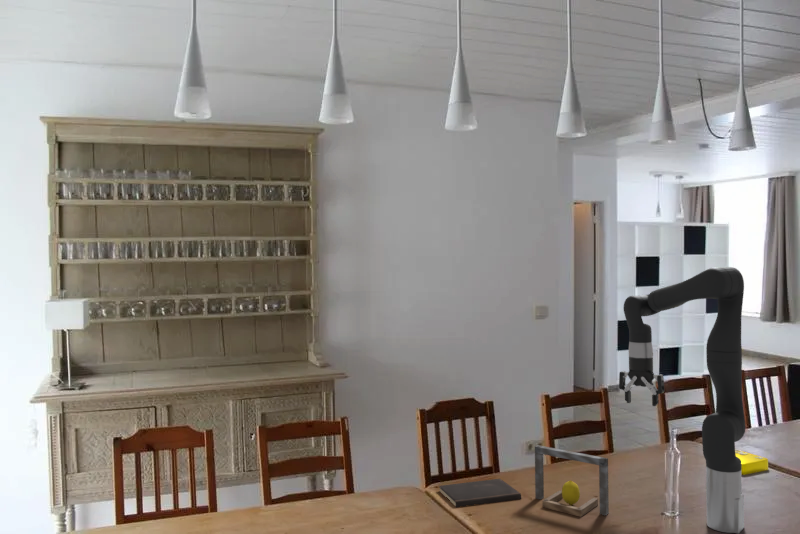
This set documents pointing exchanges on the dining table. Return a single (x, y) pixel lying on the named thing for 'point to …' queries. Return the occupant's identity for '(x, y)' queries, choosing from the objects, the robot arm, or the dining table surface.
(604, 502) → the keeper pocket
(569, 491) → the lemon
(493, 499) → the hardcover book
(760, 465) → the yellow flat square block
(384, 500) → the dining table surface
